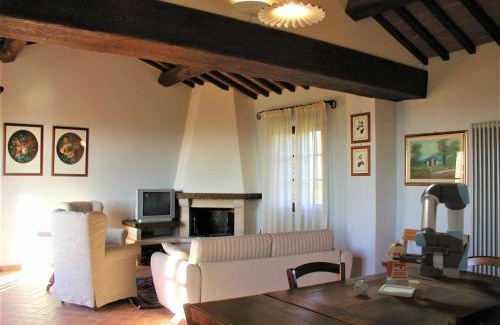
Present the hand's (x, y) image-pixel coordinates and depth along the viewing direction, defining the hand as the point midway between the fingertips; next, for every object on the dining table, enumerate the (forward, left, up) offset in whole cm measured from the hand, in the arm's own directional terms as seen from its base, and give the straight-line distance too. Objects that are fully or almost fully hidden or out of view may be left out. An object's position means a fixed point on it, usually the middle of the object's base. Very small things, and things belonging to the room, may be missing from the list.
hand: (388, 256), depth 238 cm
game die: (+16, -10, -18) cm, 26 cm away
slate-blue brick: (-13, 0, -18) cm, 23 cm away
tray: (0, +5, -18) cm, 19 cm away
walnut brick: (+5, +18, -18) cm, 26 cm away
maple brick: (-12, +12, -18) cm, 25 cm away
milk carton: (0, +5, -11) cm, 12 cm away
